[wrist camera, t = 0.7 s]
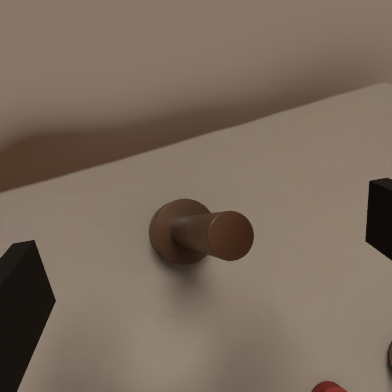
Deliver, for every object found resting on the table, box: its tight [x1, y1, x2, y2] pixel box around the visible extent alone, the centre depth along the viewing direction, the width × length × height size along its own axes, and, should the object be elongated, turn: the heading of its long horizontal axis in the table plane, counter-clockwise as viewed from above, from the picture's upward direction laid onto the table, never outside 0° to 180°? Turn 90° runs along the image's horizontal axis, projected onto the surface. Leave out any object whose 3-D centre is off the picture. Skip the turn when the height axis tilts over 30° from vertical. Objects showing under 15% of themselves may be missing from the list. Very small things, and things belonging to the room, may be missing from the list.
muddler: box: [149, 199, 254, 264], centre depth 23 cm, size 6×6×14 cm
